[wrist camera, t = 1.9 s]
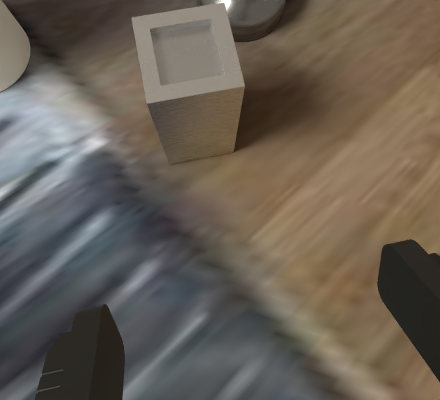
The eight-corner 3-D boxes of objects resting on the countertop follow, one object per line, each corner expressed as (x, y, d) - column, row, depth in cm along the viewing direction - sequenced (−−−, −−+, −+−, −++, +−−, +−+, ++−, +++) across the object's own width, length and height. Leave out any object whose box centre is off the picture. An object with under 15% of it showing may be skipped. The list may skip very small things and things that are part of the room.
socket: (158, 105, 28) (131, 17, 19) (220, 93, 28) (224, 2, 19) (169, 164, 27) (146, 103, 18) (233, 152, 27) (244, 85, 18)
